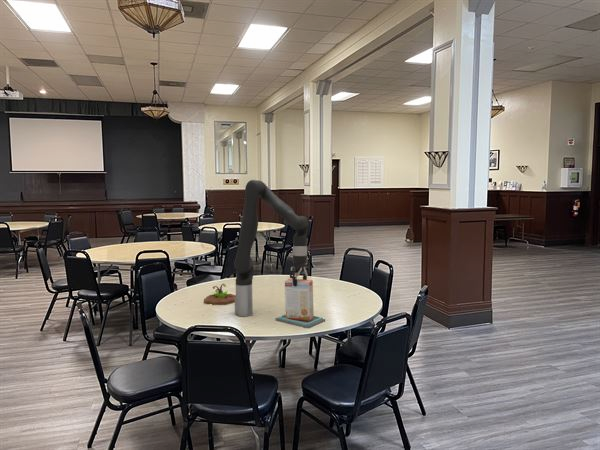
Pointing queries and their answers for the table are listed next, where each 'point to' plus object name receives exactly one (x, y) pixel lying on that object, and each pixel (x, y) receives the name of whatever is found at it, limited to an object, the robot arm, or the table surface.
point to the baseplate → (301, 321)
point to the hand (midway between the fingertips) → (299, 284)
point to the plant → (220, 297)
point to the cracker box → (299, 300)
